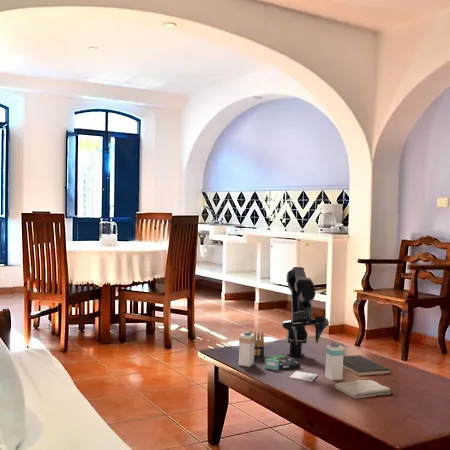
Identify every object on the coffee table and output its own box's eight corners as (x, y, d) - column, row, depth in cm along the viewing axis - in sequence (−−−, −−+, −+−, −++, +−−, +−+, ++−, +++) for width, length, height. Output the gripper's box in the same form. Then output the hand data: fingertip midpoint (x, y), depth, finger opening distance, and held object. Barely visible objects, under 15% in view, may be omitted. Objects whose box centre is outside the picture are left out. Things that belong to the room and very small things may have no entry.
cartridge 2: (324, 376, 230) (326, 342, 230) (335, 375, 232) (337, 341, 231) (331, 380, 225) (332, 345, 225) (342, 379, 227) (344, 344, 227)
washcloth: (392, 395, 212) (392, 386, 211) (354, 400, 204) (354, 392, 204) (371, 385, 222) (371, 377, 222) (334, 390, 214) (334, 382, 214)
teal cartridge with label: (265, 367, 239) (265, 358, 239) (278, 370, 237) (278, 360, 236) (264, 368, 238) (264, 359, 238) (278, 370, 236) (278, 361, 236)
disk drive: (300, 369, 241) (283, 360, 254) (301, 363, 241) (283, 354, 254) (279, 371, 237) (263, 361, 250) (280, 365, 236) (263, 355, 250)
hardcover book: (357, 377, 233) (357, 371, 233) (329, 361, 254) (330, 356, 254) (390, 374, 238) (390, 369, 238) (360, 360, 260) (361, 355, 259)
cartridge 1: (242, 362, 247) (244, 330, 246) (253, 363, 245) (255, 331, 244) (238, 365, 242) (239, 332, 242) (249, 366, 240) (250, 334, 240)
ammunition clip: (262, 356, 257) (263, 330, 257) (264, 357, 256) (265, 331, 255) (240, 357, 255) (241, 331, 254) (241, 358, 253) (242, 331, 253)
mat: (296, 372, 234) (296, 370, 234) (317, 375, 230) (317, 374, 230) (289, 378, 226) (289, 376, 226) (311, 381, 222) (311, 380, 222)
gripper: (276, 305, 238) (277, 341, 231) (318, 299, 230) (320, 337, 223) (287, 311, 247) (288, 347, 240) (328, 306, 238) (330, 343, 232)
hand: (306, 343), depth 234 cm, fingers open, 9 cm apart
